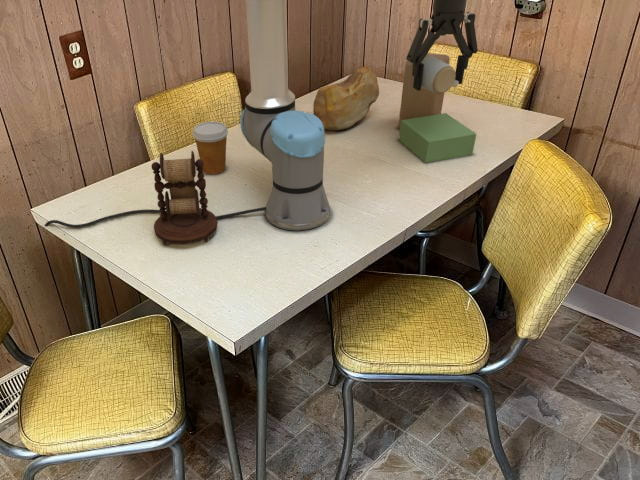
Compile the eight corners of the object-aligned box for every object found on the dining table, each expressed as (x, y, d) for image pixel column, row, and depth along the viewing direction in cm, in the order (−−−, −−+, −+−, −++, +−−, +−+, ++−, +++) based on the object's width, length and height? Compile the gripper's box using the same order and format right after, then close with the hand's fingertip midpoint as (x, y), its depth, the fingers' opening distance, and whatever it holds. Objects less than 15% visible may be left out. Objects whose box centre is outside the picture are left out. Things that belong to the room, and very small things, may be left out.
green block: (425, 163, 158) (428, 141, 155) (398, 140, 171) (401, 120, 167) (472, 154, 161) (476, 133, 157) (442, 132, 173) (445, 112, 169)
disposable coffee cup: (238, 167, 163) (235, 126, 155) (213, 180, 158) (209, 138, 150) (213, 158, 168) (210, 118, 161) (189, 171, 163) (184, 129, 155)
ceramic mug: (432, 97, 148) (437, 66, 143) (411, 88, 154) (415, 58, 149) (465, 90, 151) (471, 59, 147) (443, 81, 157) (448, 51, 153)
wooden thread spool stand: (218, 214, 143) (210, 136, 131) (217, 247, 132) (209, 166, 119) (158, 218, 144) (145, 141, 131) (152, 252, 132) (137, 170, 120)
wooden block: (440, 122, 178) (451, 54, 166) (429, 135, 172) (440, 64, 160) (408, 117, 183) (416, 50, 170) (396, 129, 177) (404, 60, 164)
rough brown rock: (347, 105, 196) (345, 58, 187) (385, 114, 185) (386, 64, 176) (295, 127, 186) (291, 79, 177) (333, 138, 175) (331, 87, 166)
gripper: (412, 1, 134) (402, 97, 148) (505, -11, 138) (486, 83, 151) (398, -5, 140) (389, 87, 154) (487, -17, 143) (470, 74, 157)
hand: (437, 85), depth 152 cm, fingers closed on ceramic mug, 11 cm apart
